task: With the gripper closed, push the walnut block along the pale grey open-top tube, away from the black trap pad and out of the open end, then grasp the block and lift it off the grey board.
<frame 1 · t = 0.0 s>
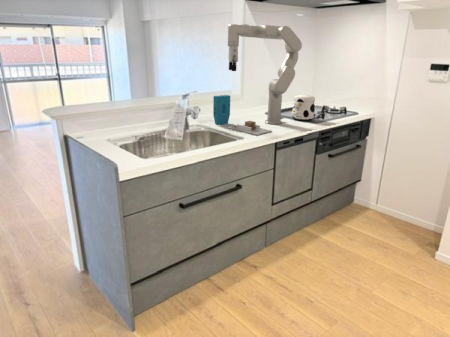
hand: (232, 70, 231), 37 cm above the worktop, tool pointing down, fingers open, 9 cm apart
walnut block: (249, 129, 225), point 1 cm above the worktop, touching tube board
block: (221, 124, 242), on the worktop
milk container: (302, 119, 264), on the worktop
tube board: (250, 130, 225), on the worktop
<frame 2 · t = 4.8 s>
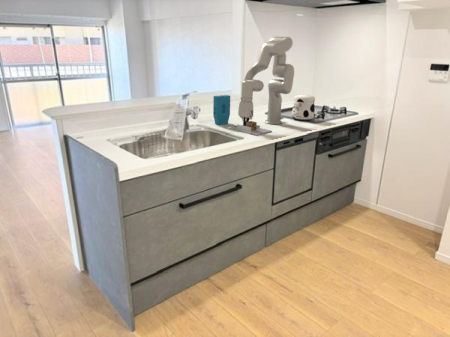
hand: (245, 126, 227), 2 cm above the worktop, tool pointing down, fingers closed
walnut block: (250, 129, 224), point 1 cm above the worktop, touching gripper
everything else where it was.
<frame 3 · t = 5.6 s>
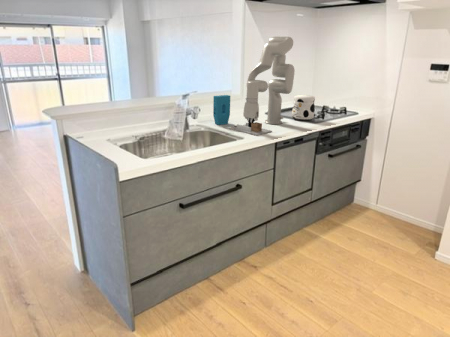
hand: (250, 128, 224), 2 cm above the worktop, tool pointing down, fingers closed
walnut block: (256, 130, 221), point 1 cm above the worktop, touching gripper
everything else where it was.
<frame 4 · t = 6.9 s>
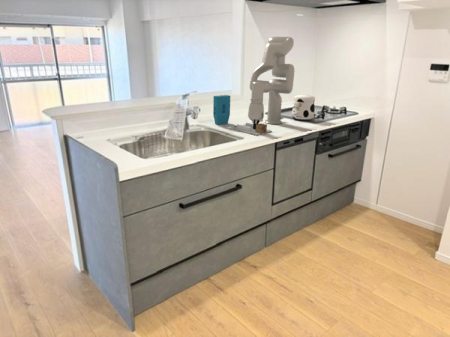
hand: (255, 129, 221), 2 cm above the worktop, tool pointing down, fingers closed
walnut block: (261, 132, 218), point 1 cm above the worktop, touching gripper, tube board
everything else where it was.
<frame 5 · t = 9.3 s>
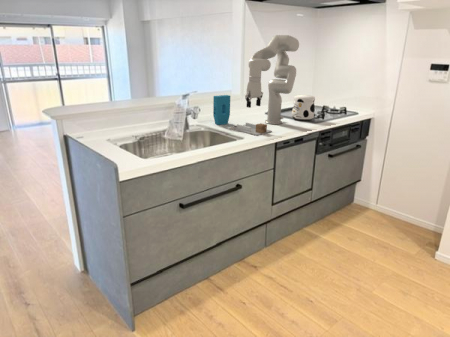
hand: (253, 106, 218), 16 cm above the worktop, tool pointing down, fingers open, 9 cm apart
walnut block: (261, 132, 218), point 1 cm above the worktop, touching tube board
everything else where it was.
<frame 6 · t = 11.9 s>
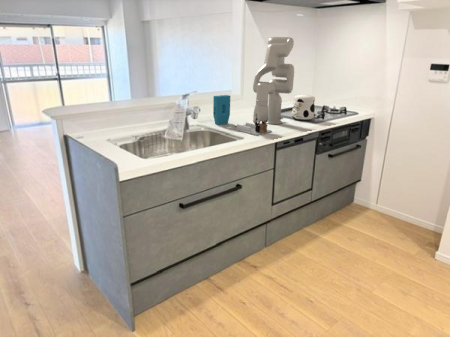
hand: (260, 130, 219), 1 cm above the worktop, tool pointing down, fingers closed on walnut block, 5 cm apart
walnut block: (261, 131, 218), point 1 cm above the worktop, touching gripper, tube board
everything else where it was.
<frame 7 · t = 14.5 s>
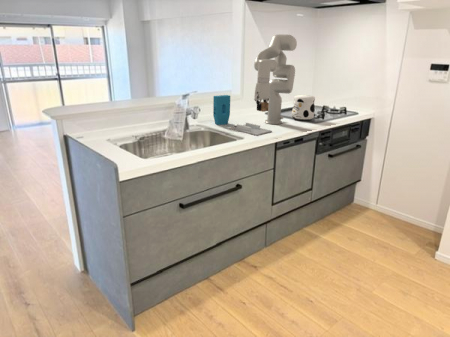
hand: (261, 109, 214), 15 cm above the worktop, tool pointing down, fingers closed on walnut block, 4 cm apart
walnut block: (262, 110, 214), point 15 cm above the worktop, touching gripper
everything else where it was.
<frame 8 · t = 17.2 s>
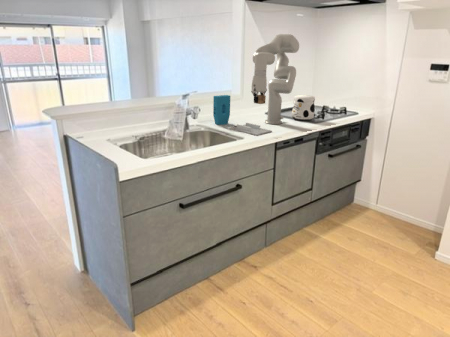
hand: (258, 102, 217), 19 cm above the worktop, tool pointing down, fingers closed on walnut block, 4 cm apart
walnut block: (259, 103, 217), point 19 cm above the worktop, touching gripper
everything else where it was.
at the end: the gripper is holding walnut block; walnut block point 18.7 cm above the worktop; walnut block touching gripper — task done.
